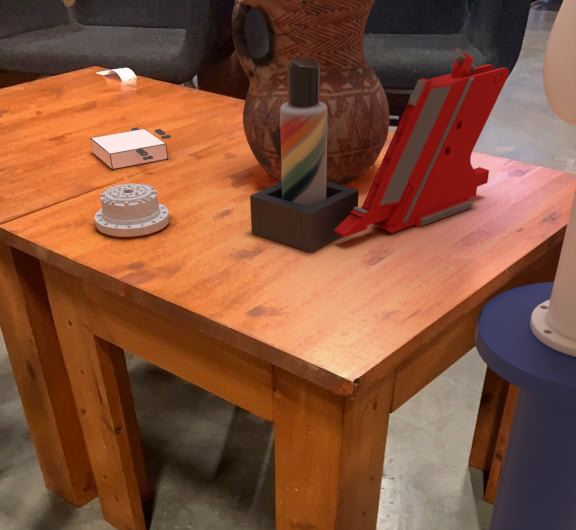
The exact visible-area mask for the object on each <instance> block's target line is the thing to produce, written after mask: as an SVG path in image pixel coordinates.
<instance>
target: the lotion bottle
mask: <svg viewBox="0 0 576 530" xmlns="http://www.w3.org/2000/svg"><path fill="white" fill-rule="evenodd" d="M287 79H288V102H287V103H284V104H283V105H282V106H281V108H280V127H281V169H282V199H283V200H286V201H290V202H293V203H297V204H300V205H304V206H307V207H310V206H312V205H314V204H316V203H318V202H321V201H323V200H325V199H326V178H327V106H326V104H324V103H322V102H319V97H320V64H319V63H318V62H317V61H315V60H312V59H304V58H292V59H291V60H290V64H289V65H288V66H287Z"/></svg>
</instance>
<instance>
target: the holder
mask: <svg viewBox="0 0 576 530" xmlns="http://www.w3.org/2000/svg"><path fill="white" fill-rule="evenodd" d="M359 194H360V190H359V189H356V188H353V187H349V186H345V185H338V184H335V183H331V182H327V181H326V199H325V200H323V201H321V202H318V203H316V204H314V205H312V206H310V207H307V206H304V205H300V204H297V203H293V202H290V201H286V200H283V199H282V182H280V183H278V182H277V183H275V184H274V185H273V184H272V185H271V186H268V187H267V188H263V189H261V190H259V191H257V192H255V193H252V194H250V195H249V203H250V205H249V206H250V223H251V224H250V226H251V234H252V235H255V236H258V237H261V238H264V239H266V240H270V241H273V242H275V243H278V244H279V243H280V244H283V245H286V246H289V247H291V248H294V249H297V250H299V251H300V250H302V251H304V252H307V253H313V252H316V250H319V249H320V248H323V247H325V246H326V245H328V244H330V243H332V242H334V241H335V240H337V239H339V238H341V237H342V236H341V235H339V234H337V233H335V232H334V229H335V228H337V227H338V226H339V225H340V224H341V223H342V222H343V221H344V220H345V219H346V218H347V217H348V216H349V215H350V214H351V211H352V210H353V208H354V207H359Z"/></svg>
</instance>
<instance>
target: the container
mask: <svg viewBox="0 0 576 530" xmlns="http://www.w3.org/2000/svg"><path fill="white" fill-rule="evenodd" d="M153 132H154V133H156V134H157V135H158V136H160V138H159V137H158V136H156V135H154V134H153ZM153 132H151V131H149V130H147V129H145V128H141V129H139V128H138V127H132V128H131V130H128V131H124V132H118V133H111V134H106V135H100V136H94V137H90V144H91V149H92V154H93V155H95V157H97V158H98V159H99V160H100V161H102V162H103V163H104V164H105V165H106V166H107V167H108V168H110V169H111V171H113V170H118V169H123V168H128V167H134V166H139V165H140V166H141V165H144V164H150V163H156V162H160V161H165V160H169V156H168V148H167V143H166V142H164V141H163V140H165V139H171V138H172V136H171V134H167V132H166V131H165V130H163V129H161V128H156V129H154V131H153Z"/></svg>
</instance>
